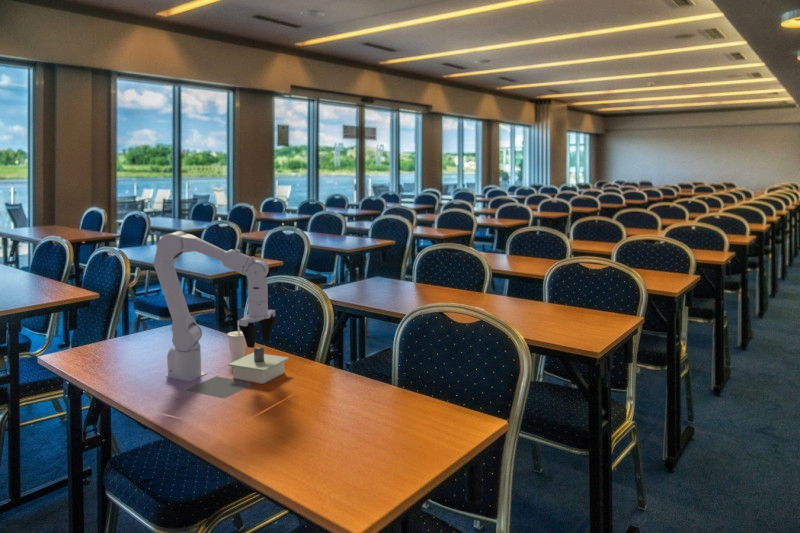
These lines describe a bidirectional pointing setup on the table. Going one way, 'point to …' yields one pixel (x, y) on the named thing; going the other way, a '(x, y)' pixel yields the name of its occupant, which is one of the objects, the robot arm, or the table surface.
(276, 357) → the lid
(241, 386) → the mat
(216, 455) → the table surface
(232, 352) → the smoothie
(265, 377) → the dish
